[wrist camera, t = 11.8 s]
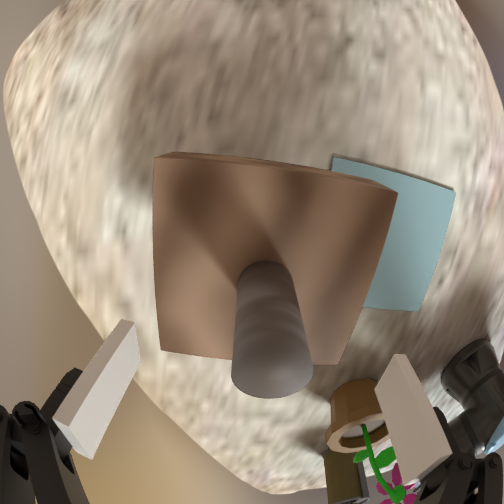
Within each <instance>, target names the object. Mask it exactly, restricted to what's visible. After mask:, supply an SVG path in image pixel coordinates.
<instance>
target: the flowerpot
mask: <svg viewBox="0 0 504 504" xmlns="http://www.w3.org/2000/svg"><path fill="white" fill-rule="evenodd" d="M377 384H378V382H376V381H374V380H372V379H369V378H367V379H356V380H353V381H351V382H348V383H346V384H343V385H342V386H341V387H340V388H338V389H337V390H336V391H335V392H334V393H333V395H332V398H331V425H330V427H329V429H328V431H327V433H326V434H325V436H326V443H327V445H328V446H329V447H330V449H331V450H332V451H336V452H342V453H351V452H358V451H360V452H358V453H357V454H356V455H355V457H354V459H353V463H357V462H360V461H363V460H364V459H366V458H367V457H368V456H369V461H370V463H371V466H372V468H373V471H374V473H375V475H376V478H377V480H378V483H377V485H376V487H377V489H378V492H380V493H381V494H383V495H388V494H389V495H390V499H386V500H384V501H383V502H381V503H380V504H393V503H395V504H401V502H402V501H404V504H413V502H414V500H415V498H416V496H417V495H416V494H413V493H412V494H408V495H406V490H408V489H411V488H413V487H414V486H415V485H416V484H417V483H418V482H419V481H418V482H417V483H414V484H410V485H407V486H404V485H403V486H402V485H401V483H402V477H401V474H400V470H399V466H398V463H395V465H394V468H393V471H392V482H393V483H394V485H395V487H394V488H393V487H392V484H390V483H388V482H385V480H384V479H383V478H382V475H381V473H380V471H379V468H382V467H386V466H388V465H389V464H391V463H392V462H393V461H394V460H395V459H396V456H395V452H394V449H393V446H392V447H389V448H387V449H385V450H383V451H381V453H380V454H379V455H378V456H377V457H376V458H374V454H373V450H372V447H375V446H377V445H380V444H382V443H383V442H385V441H386V440H388V439H389V438H390V435H389V432H388V429H387V426H386V423H385V420H384V417H383V414H382V410H381V407H380V405H379V402H378V399H377V396H376V393H375V390H374V389H375V387H376V385H377Z"/></svg>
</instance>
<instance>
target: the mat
mask: <svg viewBox="0 0 504 504" xmlns="http://www.w3.org/2000/svg"><path fill="white" fill-rule="evenodd" d="M331 171H334V172H339V173H344V174H349V175H353V176H358V177H362V178H367V179H371V180H374V181H376V182H378V183H380V184H382V185H384V186H386V187H388V188H390V189H392V190H394V191H396V192H398V196H397V201H396V205H395V208H394V212H393V216H392V220H391V223H390V227H389V230H388V234H387V237H386V241H385V244H384V247H383V250H382V254H381V257H380V260H379V263H378V266H377V269H376V272H375V275H374V277H373V280H372V283H371V286H370V289H369V291H368V294H367V297H366V299H365V302H364V304H363V307H366V308H377V309H389V310H403V311H417V312H418V311H419V308H420V306H421V303H422V301H423V299H424V296H425V294H426V291H427V289H428V286H429V283H430V281H431V278H432V275H433V273H434V270H435V267H436V264H437V261H438V258H439V255H440V252H441V249H442V245H443V242H444V239H445V235H446V232H447V228H448V224H449V221H450V217H451V213H452V208H453V204H454V200H455V195H456V192H454V191H452V190H449V189H446V188H443V187H440V186H437V185H435V184H432V183H429V182H426V181H423V180H419V179H416V178H413V177H410V176H407V175H403V174H400V173H396V172H393V171H389V170H386V169H382V168H378V167H374V166H371V165H367V164H363V163H358V162H354V161H350V160H346V159H341V158H337V157H333V161H332V167H331Z"/></svg>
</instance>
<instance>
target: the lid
mask: <svg viewBox="0 0 504 504" xmlns="http://www.w3.org/2000/svg"><path fill="white" fill-rule="evenodd" d="M397 196H398V192H396V191H394V190H392V189H390V188H388V187H386V186H384V185H382V184H380V183H378V182H376V181H374V180H371V179H367V178H362V177H358V176H353V175H349V174H344V173H339V172H334V171H329V170H324V169H318V168H313V167H307V166H301V165H295V164H289V163H282V162H275V161H268V160H260V159H252V158H244V157H235V156H225V155H214V154H202V153H187V152H171V153H168V154H165V155H162V156H159V157H156V158H154V175H153V261H154V281H155V296H156V309H157V320H158V330H159V339H160V347H161V350H163V351H169V352H175V353H181V354H188V355H195V356H202V357H210V358H218V359H227V360H232V370H231V378H232V381H233V383H234V385H235V386H236V387H237V388H238V389H239V390H240V391H242V392H244V393H245V394H248V395H250V396H253V397H258V398H268V399H271V398H281V397H285V396H288V395H291V394H294V393H296V392H298V391H300V390H301V389H303V388H304V387H305V386H306V385H307V384H308V383H309V382H310V381H311V379H312V377H313V373H314V367H313V365H337V364H338V362H339V360H340V358H341V356H342V354H343V352H344V350H345V347H346V345H347V343H348V341H349V338H350V336H351V334H352V331H353V329H354V327H355V324H356V322H357V319H358V317H359V315H360V312H361V310H362V307H363V304H364V302H365V299H366V297H367V294H368V291H369V289H370V286H371V283H372V280H373V277H374V275H375V272H376V269H377V266H378V263H379V260H380V257H381V254H382V250H383V247H384V244H385V241H386V237H387V234H388V230H389V227H390V223H391V220H392V216H393V212H394V208H395V205H396V201H397Z"/></svg>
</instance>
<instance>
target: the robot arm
mask: <svg viewBox="0 0 504 504" xmlns="http://www.w3.org/2000/svg"><path fill="white" fill-rule="evenodd" d="M140 363H141V361H140V355H139V348H138V341H137V334H136V326H135V322H131V321H127V320H123V319H121V320H120V322H119V323H118V324H117V326H116V327H115V328H114V330H113V331H112V332H111V334H110V335H109V336H108V338H107V339H106V340H105V342H104V343H103V344H102V346H101V347H100V349H99V350H98V351H97V353H96V354H95V355H94V357H93V358H92V360H91V361H90V362H89V364H88V365H87V367H86V368H85V370H84V371H81V370H79V369H77V368H74V369H72V370H71V371H69V372H68V373H66V374H65V376H64V377H63V378H62V380H61V381H60V383H59V384H58V385H57V387H56V389H55V390H54V391H53V392H52V394H51V395H50V397H49V398H48V399H47V401H46V402H45V404H44V405H43V407H42V408H41V410H39V408H38V407H37V406H36V405H35V404H34V403H32V402H30V401H23V402H20V403H18V404H17V405H16V406H15V407H14V409H13V411H12V414H9V413H8V412H7V411H6V409H5V408H4V407H3V406H1V405H0V504H35V496H36V500H37V503H38V504H90V503H89V501H88V499H87V497H86V494H85V492H84V489H83V487H82V485H81V482H80V479H79V476H78V474H77V471H76V468H75V465H74V462H73V459H72V455H71V454H70V450H71V448H72V447H73V448H74V449H75V451H76V452H77V453H79V454H81V455H83V456H85V457H87V458H90V459H93V456H94V454H95V452H96V450H97V448H98V446H99V444H100V441H101V439H102V437H103V435H104V433H105V431H106V429H107V427H108V425H109V423H110V421H111V419H112V417H113V414H114V413H115V411H116V409H117V407H118V405H119V403H120V401H121V399H122V397H123V395H124V393H125V391H126V389H127V387H128V385H129V383H130V381H131V379H132V378H133V376H134V374H135V372H136V370H137V368H138V366H139V364H140ZM441 384H442V386H443V388H444V390H445V391H446V392H447V393H448V394H449V395H450V396H452V397H453V398H454V399H456V400H457V401H458V402H459V403H461V405H462V406H463V408H464V410H465V411H464V412H462V413H461V414H460V415H458V416H457V417H456V418H454V419H453V420H451V421H450V422H448V423H447V420H446V418H445V416H444V414H443V412H442V411H441V410H440V409H439V408H438V407H432V405H431V403H430V401H429V399H428V397H427V395H426V393H425V391H424V389H423V387H422V385H421V383H420V381H419V379H418V377H417V375H416V373H415V371H414V369H413V367H412V366H411V364H410V362H409V360H408V358H407V356H406V354H394V355H393V357H392V359H391V361H390V362H389V364H388V366H387V368H386V370H385V372H384V373H383V375H382V377H381V379H380V380H379V382H378V384H377V385H376V387H375V389H374V390H375V393H376V396H377V399H378V402H379V405H380V407H381V410H382V414H383V417H384V420H385V423H386V426H387V429H388V432H389V435H390V439H391V442H392V445H393V449H394V452H395V456H396V459H397V463H398V466H399V470H400V474H401V477H402V481H403V485H404V486H407V485H410V484H414V483H417V482H418V481H419V482H418V483H417V484H416V485H415V487H416V488H415V489H414V491H413V492H416V491H417V490H419V492H418V493H417V496H416V498H415V500H414V502H413V504H502V495H503V467H502V459H501V457H500V455H498V454H497V453H495V452H494V451H495V450H497V449H498V448H499V447H501V446H502V445H503V443H504V373H503V371H502V370H501V369H500V366H499V363H498V360H497V356H496V353H495V350H494V347H493V346H492V345H491V343H490V342H489V341H488V340H486V339H480V340H477V341H475V342H473V343H471V344H469V345H468V346H467V347H465V348H464V349H463V350H462V351H460V352H459V353H458V354H457V355H456V356H455V357H454V358H453V360H452V361H451V362H450V363H449V365H448V366H447V368H446V369H445V371H444V373H443V375H442V379H441ZM482 452H484V453H485V454H487V456H486V457H484V458H483V459H476V457H477V456H478V455H480V454H481V453H482Z"/></svg>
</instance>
